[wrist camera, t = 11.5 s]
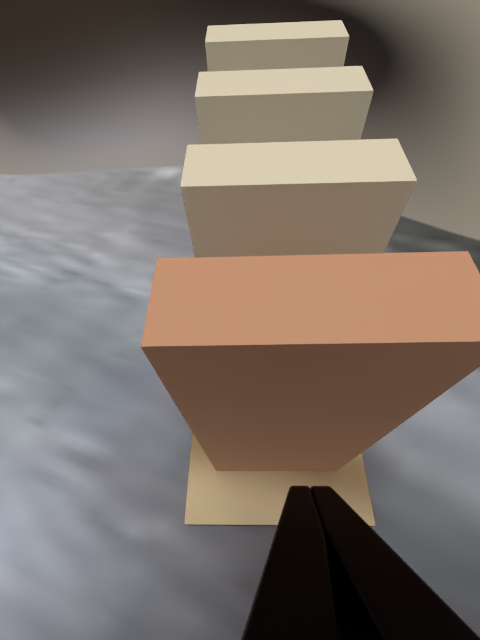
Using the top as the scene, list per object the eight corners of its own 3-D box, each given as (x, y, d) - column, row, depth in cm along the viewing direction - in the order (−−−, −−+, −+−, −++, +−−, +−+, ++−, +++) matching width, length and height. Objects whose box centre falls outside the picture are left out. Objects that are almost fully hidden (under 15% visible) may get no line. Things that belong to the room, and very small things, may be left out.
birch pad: (372, 525, 14) (375, 525, 14) (186, 524, 14) (184, 524, 14) (348, 391, 17) (350, 388, 17) (197, 392, 18) (195, 389, 17)
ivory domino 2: (313, 311, 20) (373, 90, 10) (223, 312, 20) (194, 96, 10) (310, 288, 21) (362, 66, 11) (224, 289, 21) (198, 71, 11)
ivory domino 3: (323, 381, 18) (417, 180, 8) (221, 382, 18) (180, 186, 8) (319, 351, 19) (397, 138, 9) (222, 352, 19) (187, 144, 9)
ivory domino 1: (306, 258, 23) (349, 36, 12) (226, 259, 23) (205, 42, 13) (303, 239, 23) (341, 20, 13) (227, 241, 24) (207, 25, 14)
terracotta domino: (337, 470, 15) (514, 341, 5) (215, 471, 15) (141, 346, 5) (331, 429, 16) (467, 251, 6) (217, 430, 16) (157, 258, 6)
